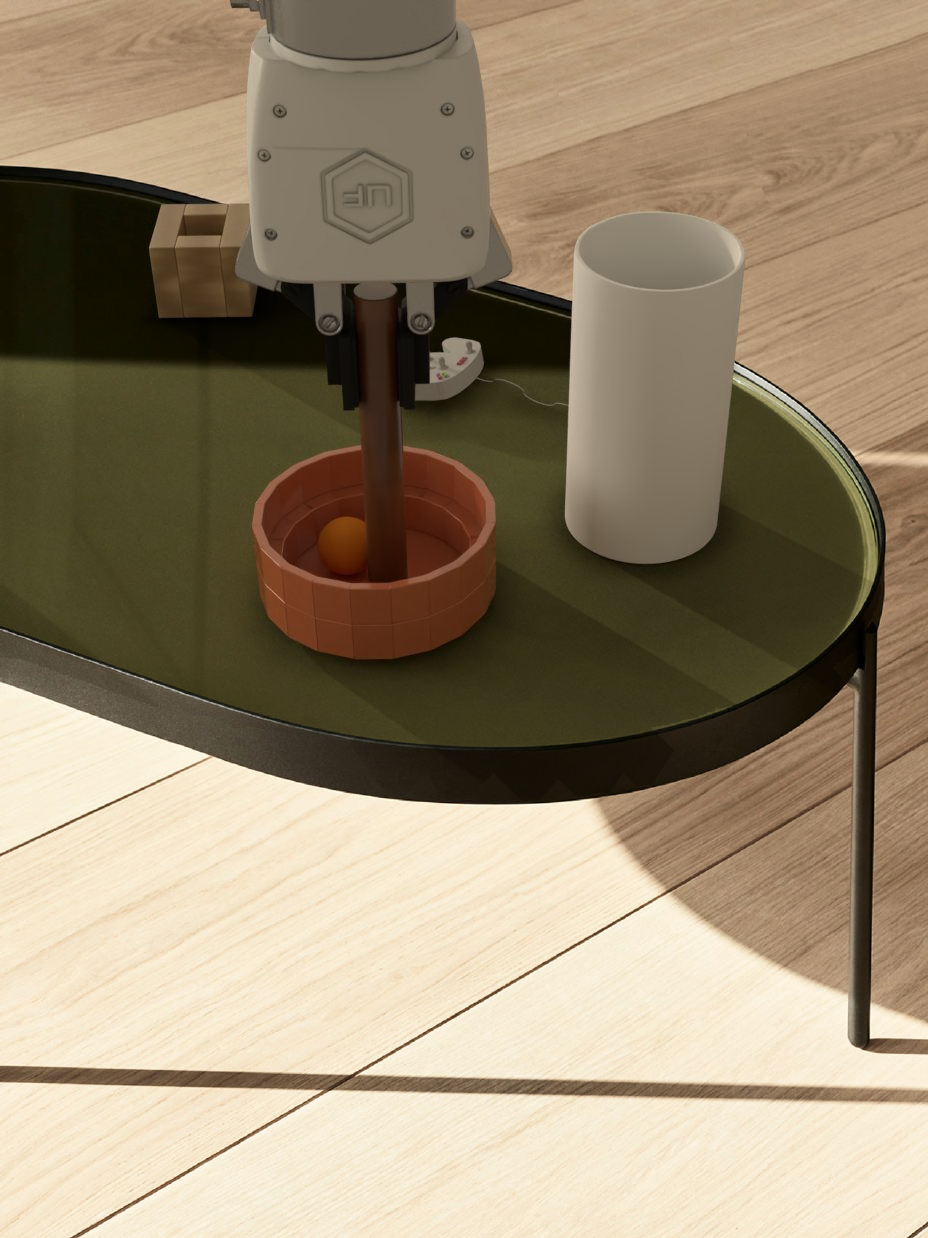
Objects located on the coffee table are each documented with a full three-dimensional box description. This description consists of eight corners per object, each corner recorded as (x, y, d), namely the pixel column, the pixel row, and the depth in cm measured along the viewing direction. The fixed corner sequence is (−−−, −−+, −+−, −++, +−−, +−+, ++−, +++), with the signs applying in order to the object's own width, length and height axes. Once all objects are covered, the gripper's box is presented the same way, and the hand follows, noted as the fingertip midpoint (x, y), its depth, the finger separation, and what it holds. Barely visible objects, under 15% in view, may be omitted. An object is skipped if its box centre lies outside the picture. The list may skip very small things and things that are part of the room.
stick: (366, 588, 84) (350, 300, 74) (370, 564, 86) (355, 279, 76) (405, 590, 84) (395, 301, 74) (409, 566, 86) (399, 280, 76)
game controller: (408, 356, 104) (407, 318, 102) (594, 371, 103) (596, 333, 101) (391, 405, 100) (390, 367, 98) (584, 422, 98) (586, 383, 97)
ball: (308, 565, 87) (309, 559, 84) (328, 512, 87) (331, 503, 84) (362, 586, 87) (365, 580, 84) (382, 533, 88) (387, 525, 85)
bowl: (251, 670, 82) (241, 590, 79) (271, 522, 91) (263, 445, 88) (498, 667, 82) (498, 587, 79) (493, 519, 91) (493, 442, 88)
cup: (746, 511, 91) (778, 243, 81) (659, 584, 86) (681, 309, 76) (624, 456, 95) (640, 195, 85) (534, 523, 91) (539, 255, 80)
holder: (159, 318, 108) (148, 247, 105) (170, 272, 112) (161, 203, 109) (252, 317, 108) (245, 246, 105) (260, 271, 112) (253, 202, 109)
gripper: (149, 39, 64) (201, 441, 76) (566, 35, 64) (553, 437, 76) (173, -30, 70) (218, 354, 82) (556, -34, 70) (546, 350, 82)
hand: (380, 391), depth 79 cm, fingers closed on stick, 2 cm apart
